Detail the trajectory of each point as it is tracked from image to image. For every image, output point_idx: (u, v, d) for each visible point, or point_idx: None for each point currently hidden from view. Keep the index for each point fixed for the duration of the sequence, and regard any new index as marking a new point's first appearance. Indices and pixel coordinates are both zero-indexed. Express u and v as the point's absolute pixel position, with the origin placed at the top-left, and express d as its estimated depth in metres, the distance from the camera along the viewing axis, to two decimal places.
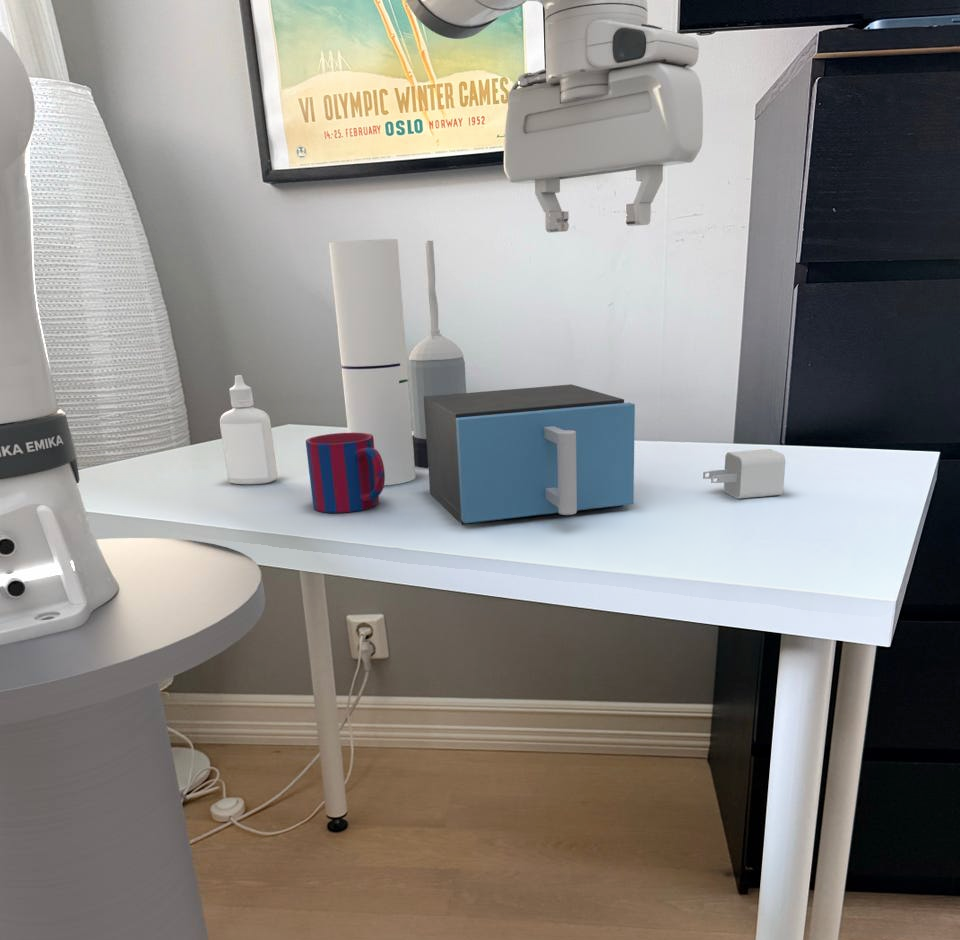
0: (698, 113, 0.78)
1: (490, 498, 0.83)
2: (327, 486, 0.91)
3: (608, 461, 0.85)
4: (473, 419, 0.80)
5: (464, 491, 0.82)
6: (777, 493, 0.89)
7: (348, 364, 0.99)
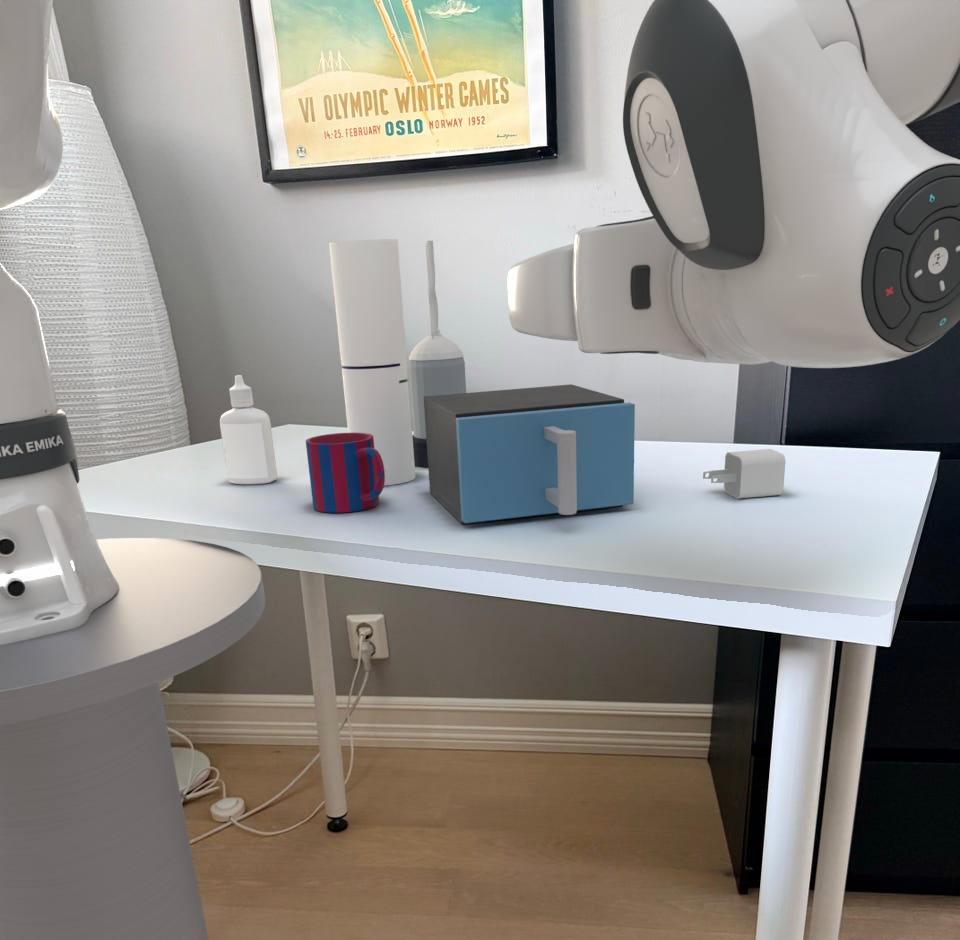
0: (527, 318, 0.54)
1: (490, 498, 0.83)
2: (327, 486, 0.91)
3: (608, 461, 0.85)
4: (473, 419, 0.80)
5: (464, 491, 0.82)
6: (777, 493, 0.89)
7: (348, 364, 0.99)
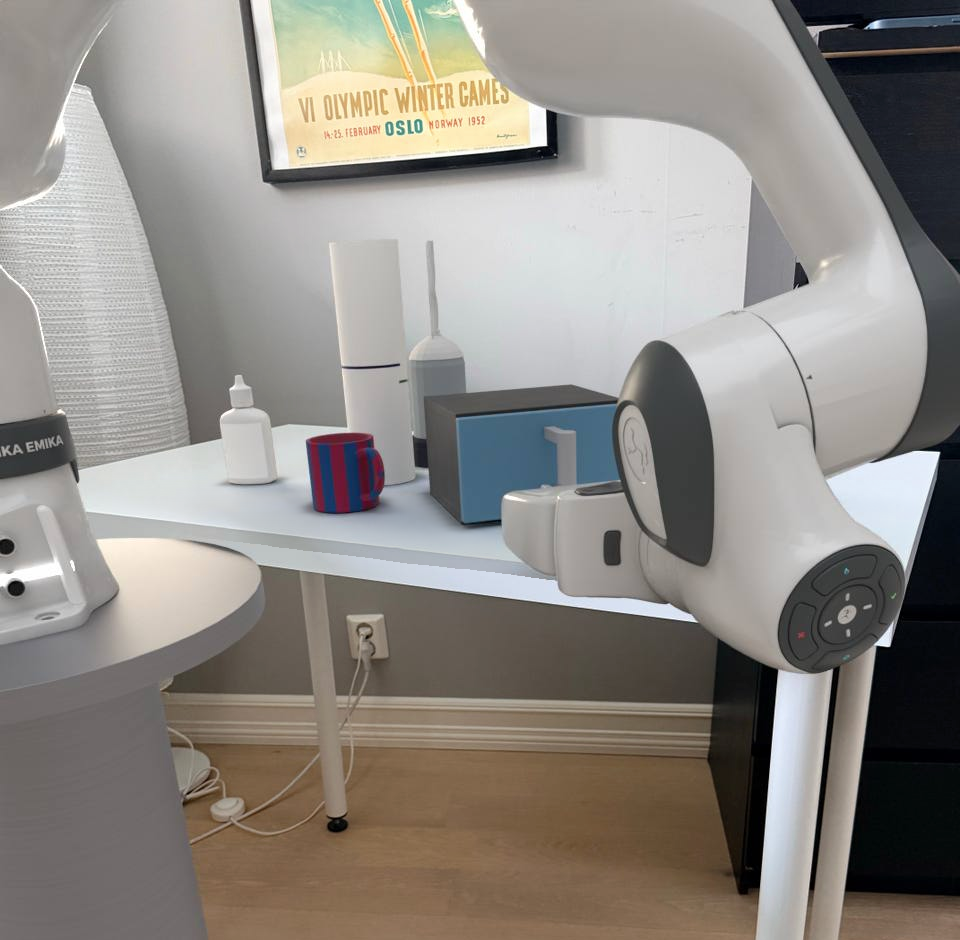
0: (516, 545, 0.61)
1: (490, 498, 0.83)
2: (327, 486, 0.91)
3: (608, 461, 0.85)
4: (473, 419, 0.80)
5: (464, 491, 0.82)
6: None
7: (348, 364, 0.99)
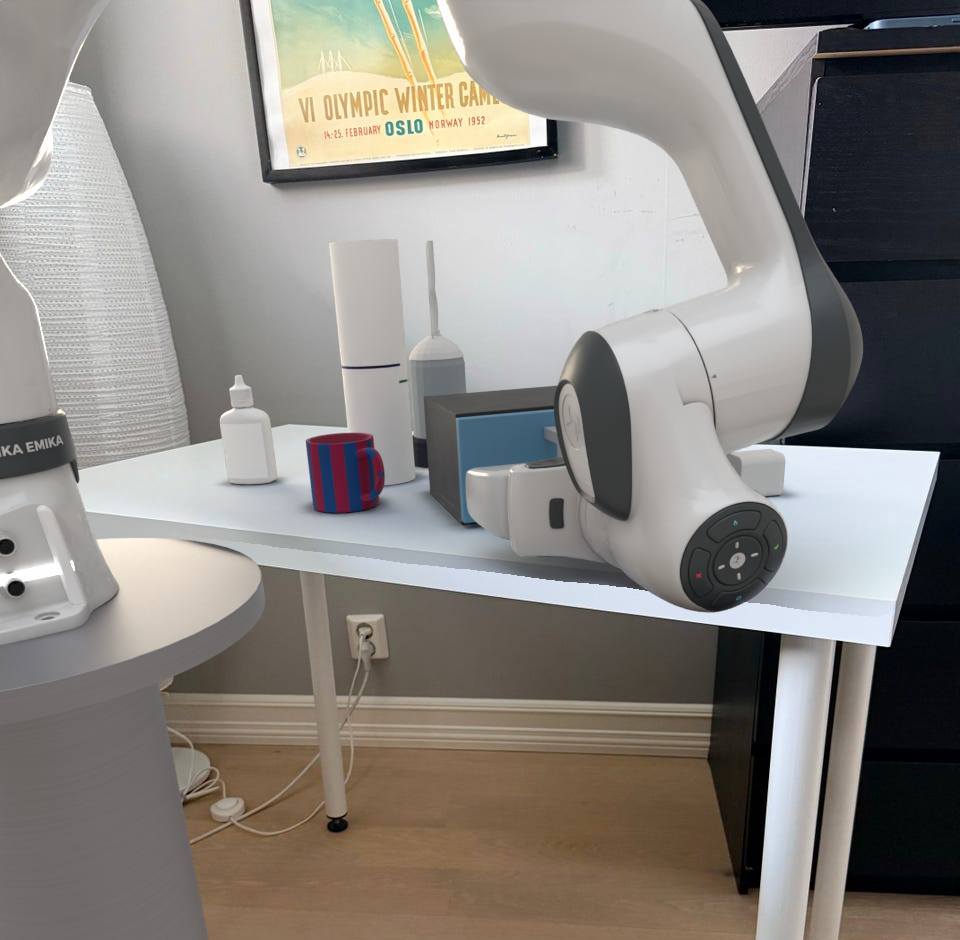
0: (477, 514, 0.71)
1: None
2: (327, 486, 0.91)
3: None
4: (473, 419, 0.80)
5: (464, 491, 0.82)
6: (777, 493, 0.89)
7: (348, 364, 0.99)
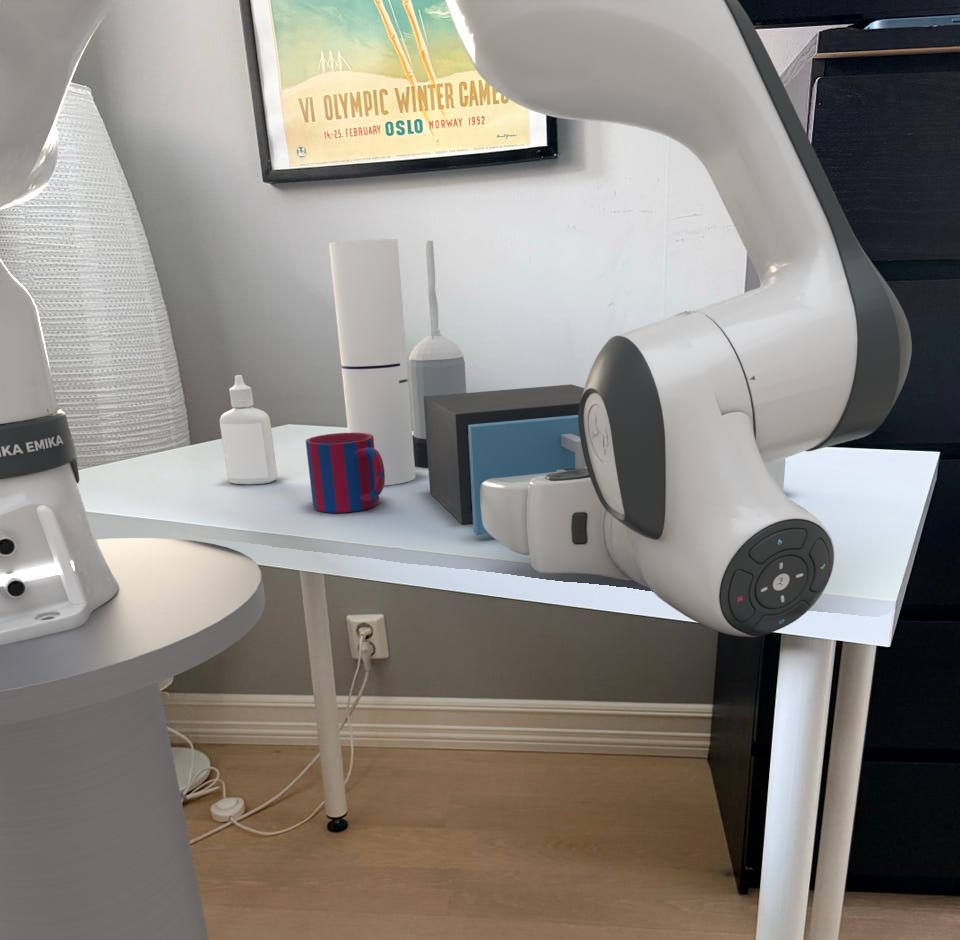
0: (494, 528, 0.67)
1: None
2: (327, 486, 0.91)
3: None
4: (486, 426, 0.76)
5: (477, 502, 0.78)
6: None
7: (348, 364, 0.99)
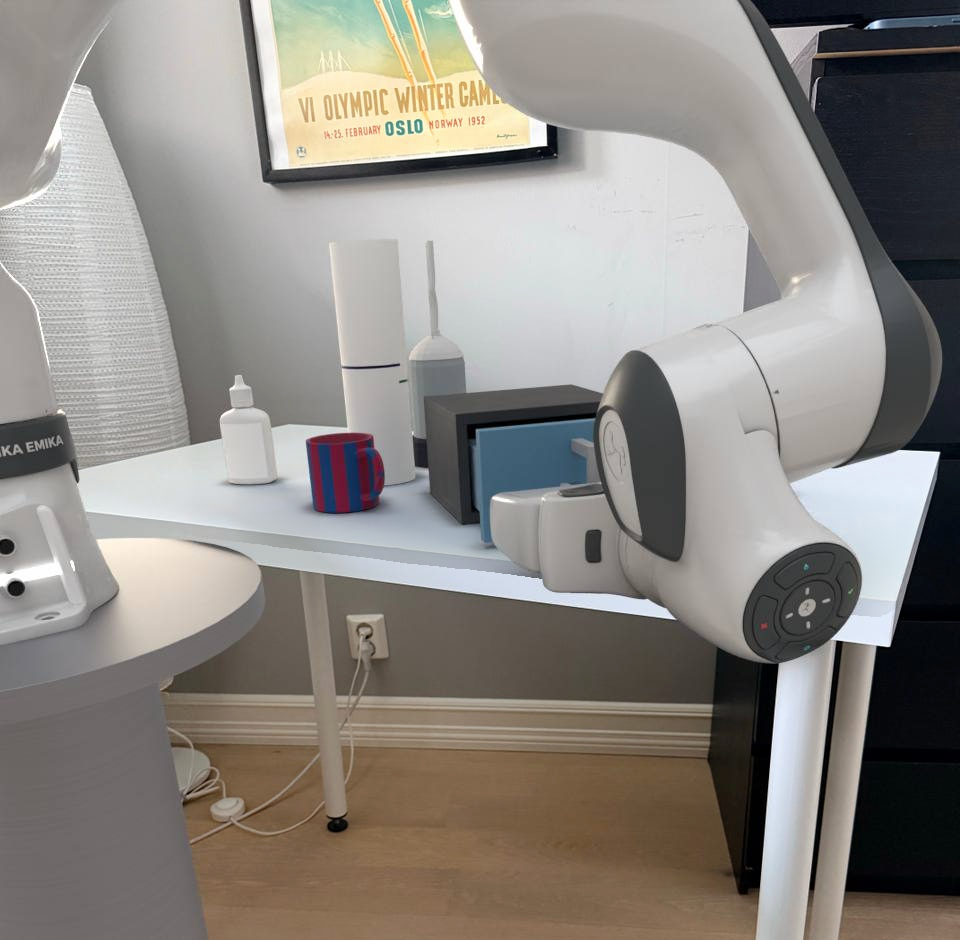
0: (504, 544, 0.65)
1: None
2: (327, 486, 0.91)
3: None
4: (495, 431, 0.74)
5: (484, 508, 0.76)
6: None
7: (348, 364, 0.99)
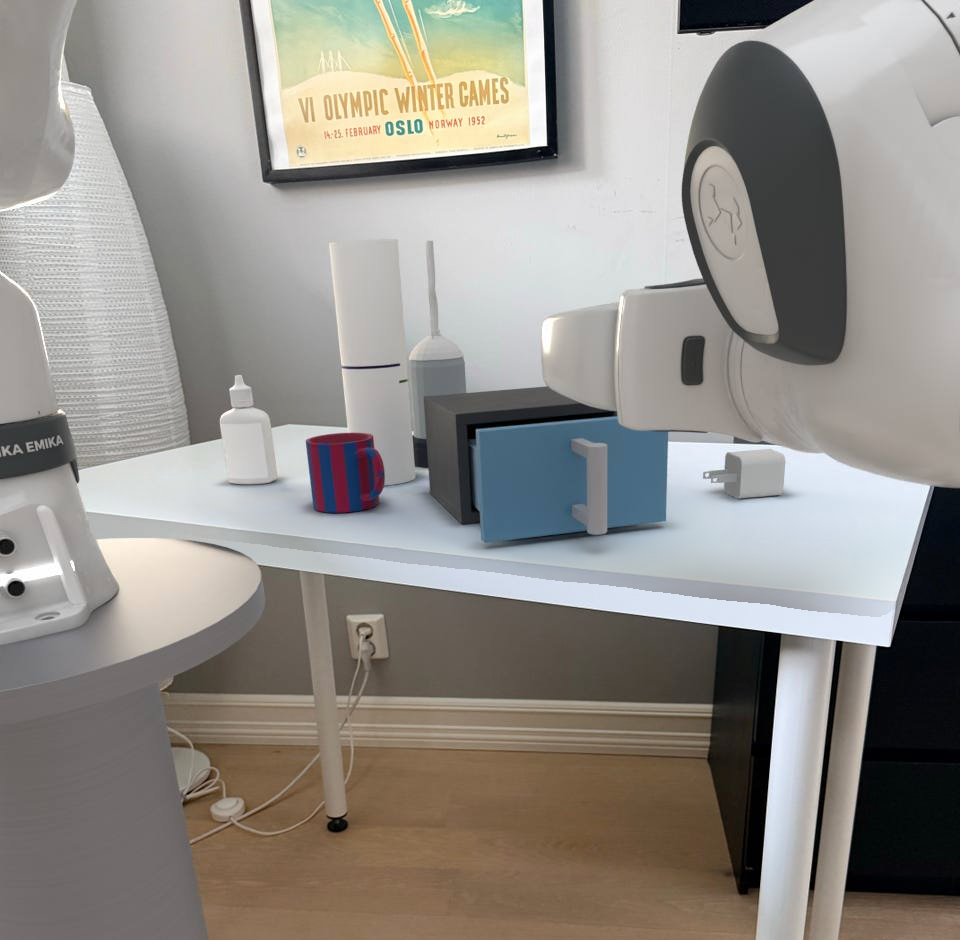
0: (561, 378, 0.48)
1: (512, 516, 0.77)
2: (327, 486, 0.91)
3: (639, 475, 0.78)
4: (495, 431, 0.74)
5: (484, 508, 0.76)
6: (777, 493, 0.89)
7: (348, 364, 0.99)
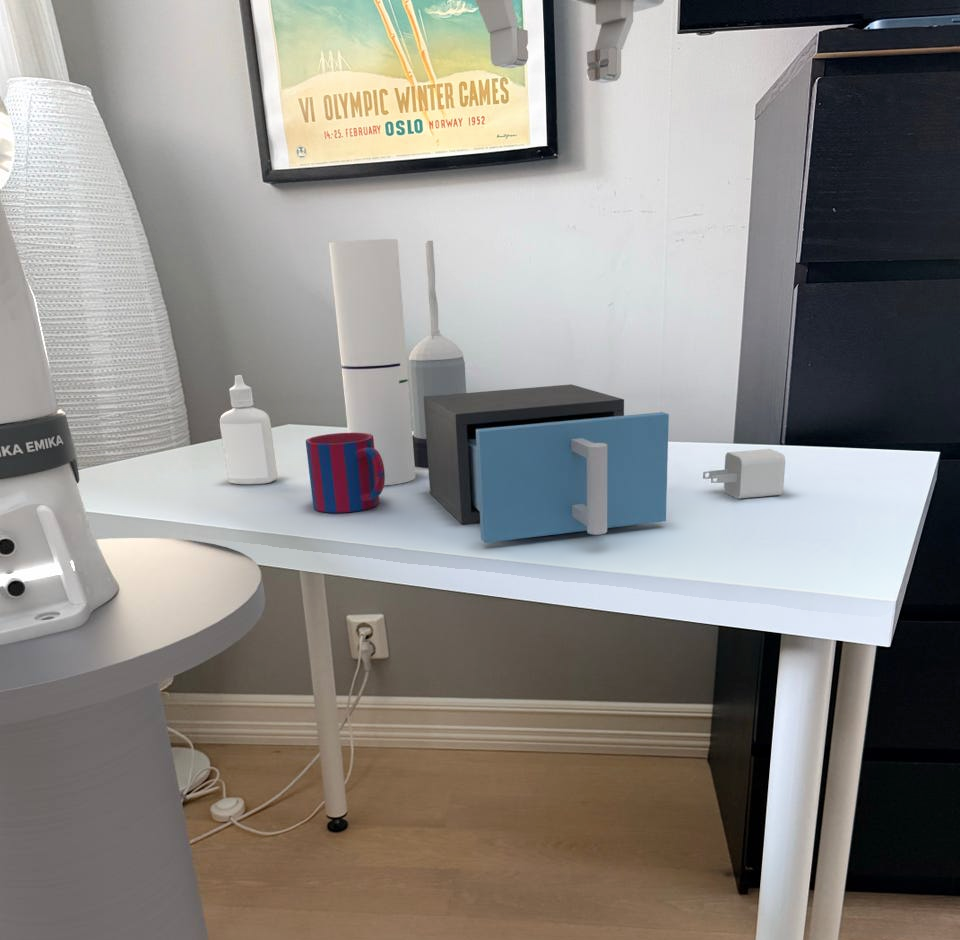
0: None
1: (512, 516, 0.77)
2: (327, 486, 0.91)
3: (639, 475, 0.78)
4: (495, 431, 0.74)
5: (484, 508, 0.76)
6: (777, 493, 0.89)
7: (348, 364, 0.99)
